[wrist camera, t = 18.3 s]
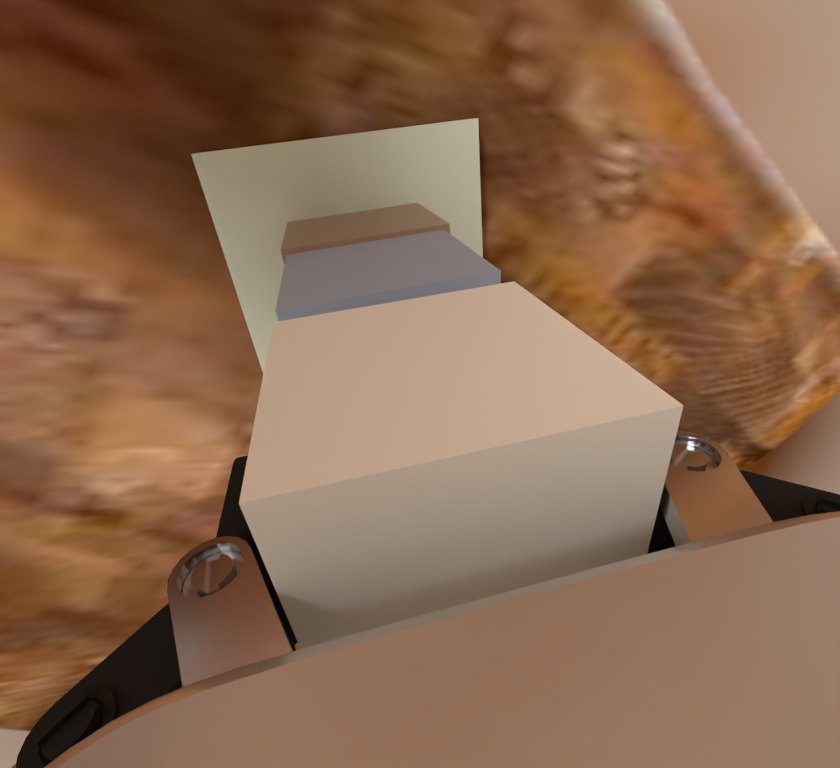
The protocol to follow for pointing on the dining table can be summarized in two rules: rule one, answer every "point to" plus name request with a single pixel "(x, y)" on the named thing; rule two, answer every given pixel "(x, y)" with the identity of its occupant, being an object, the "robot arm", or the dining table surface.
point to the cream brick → (445, 457)
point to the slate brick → (379, 274)
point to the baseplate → (336, 200)
